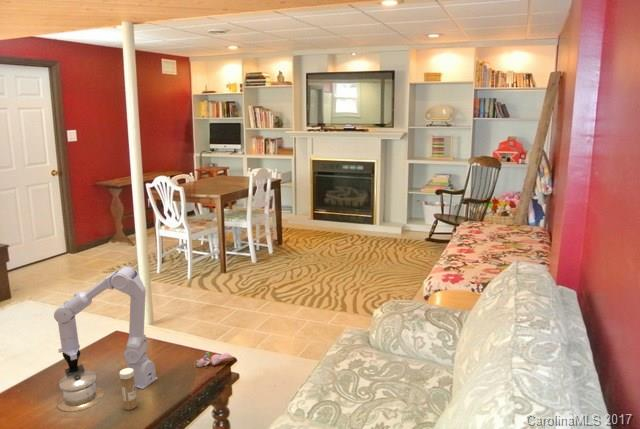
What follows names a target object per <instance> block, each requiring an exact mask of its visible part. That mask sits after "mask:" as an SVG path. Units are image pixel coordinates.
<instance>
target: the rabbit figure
mask: <svg viewBox="0 0 640 429" xmlns="http://www.w3.org/2000/svg"><path fill="white" fill-rule="evenodd" d="M205 354H206V355H204V356H203V357H202V358H200V359H196V360H194V361H193V368H194V369H195V368H196V366H197V367H198V368H202V367H204V366H207V365H209V364H210V363H211V365H213V366H216V365H218V364H220V363H221V361H223V360H225V359H231V358H232V354H230V353H227V352H226V353H222V354H219V353H218V354H214V355H212V356H211V358H209V357H210V352H208V351H207V352H205Z"/></svg>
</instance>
